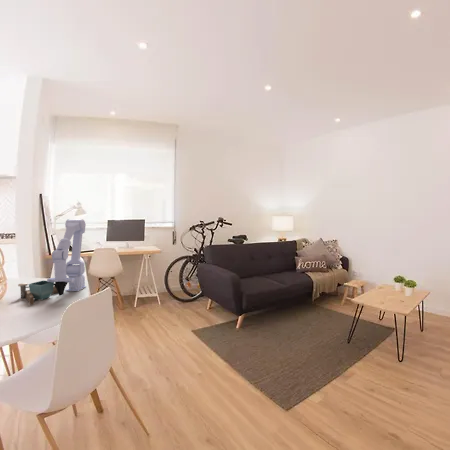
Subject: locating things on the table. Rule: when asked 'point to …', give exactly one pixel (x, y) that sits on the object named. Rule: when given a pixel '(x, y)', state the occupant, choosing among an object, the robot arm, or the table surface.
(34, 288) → the flower pot
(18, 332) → the table surface
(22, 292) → the v jig
